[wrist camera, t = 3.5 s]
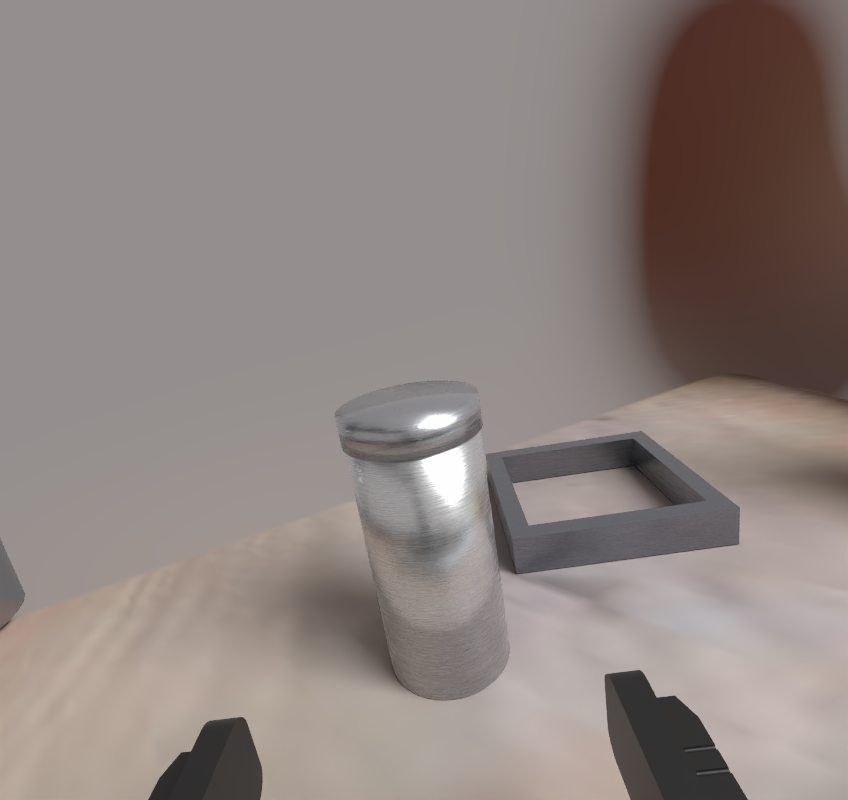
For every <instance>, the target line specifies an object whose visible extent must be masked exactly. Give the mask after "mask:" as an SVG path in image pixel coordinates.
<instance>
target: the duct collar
mask: <svg viewBox="0 0 848 800" xmlns="http://www.w3.org/2000/svg"><path fill="white" fill-rule="evenodd" d="M486 461H487V469H488V476H489V482H490V485H491V488H492V492H493V495H494V499H495V502H496V505H497V509H498V512H499V516H500V519H501V522H502V526H503V529H504V533H505V536H506V539H507V543H508V546H509V550H510V553H511V557H512V560H513V563H514V567H515V570H516V574H520V573H527V572H535V571H542V570H550V569H557V568H564V567H572V566H579V565H586V564H594V563H601V562H609V561H616V560H623V559H631V558H638V557H646V556H653V555H660V554H668V553H675V552H682V551H690V550H697V549H705V548H712V547H719V546H727V545H734V544H739V518H740V508H739V507H738V506H737V505H736V504H734V503H733V502H732V501H730V500H729V499H728V498H727V497H725V496H724V495H723V494H721V493H720V492H719V491H718V490H716V489H715V488H714V487H712V486H711V485H710V484H709V483H707V482H706V481H705V480H704V479H702V478H701V477H700V476H698V475H697V474H696V473H695V472H693V471H692V470H691V469H689V468H688V467H687V466H686V465H684V464H683V463H682V462H680V461H679V460H678V459H677V458H675V457H674V456H673V455H671V454H670V453H669V452H668V451H666V450H665V449H664V448H663V447H661V446H660V445H659V444H657V443H656V442H655V441H654V440H652V439H651V438H650V437H648V436H647V435H646V434H645V433H643V432H642V431H640V432H633V433H626V434H620V435H613V436H606V437H599V438H592V439H586V440H579V441H572V442H565V443H558V444H552V445H545V446H538V447H531V448H524V449H518V450H511V451H504V452H497V453H490V454H486ZM632 465H635V466H636V467H637V468H638V469H639V470H640V471H641V472H642V473H643V474H644V475H645V476H646V477H647V478H648V479H649V480H650V481H651V482H652V483H653V484H654V485H655V486H656V487H657V488H658V489H659V490H660V491H662V492H663V493H664V494H665V495H666V496H667V497H668V498H669V499H670V500H671V501H672V502H673V503H674V504H675V505H674V506H667V507H659V508H652V509H645V510H638V511H631V512H624V513H616V514H609V515H602V516H595V517H588V518H581V519H573V520H566V521H559V522H552V523H545V524H538V525H531V526H528V523H527V521H526V518H525V516H524V513H523V511H522V508H521V506H520V503H519V501H518V498H517V495H516V493H515V490H514V488H513V485H512V483H514V482H521V481H528V480H535V479H542V478H549V477H556V476H563V475H570V474H577V473H584V472H591V471H597V470H604V469H611V468H618V467H625V466H632Z"/></svg>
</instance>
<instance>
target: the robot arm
mask: <svg viewBox="0 0 848 800" xmlns="http://www.w3.org/2000/svg"><path fill="white" fill-rule="evenodd" d="M24 596H25V593H24V591H23V589H22V586H21V584H20V582H19V580H18V577H17V575H16V573H15V570H14V568H13V566H12V564H11V561H10V559H9V557H8V555H7V552H6V550H5V548H4V546H3V544H2V541H1V539H0V628H1V627H2V626H3V625H5V624H6V623H7V622H8V621H9V620H10V619H11V618H12V617H13V615H14V614H15V613H16V612H17V611H18V610H19V608H20V606H21V605H22V603H23V601H24ZM605 692H606V706H607V721H608V731H609V737H610V741H611V745H612V749H613V753H614V756H615V759H616V762H617V765H618V767H619V770H620V773H621V775H622V778H623V781H624V783H625V786H626V788H627V791H628V794H629V796H630V799H631V800H748V799H747V798H746V796H745V794H744V793H743V791H742V789H741V788H740V786H739V784H738V783H737V781H736V779H735V778H734V776H733V774H732V773H730V771H729V769H728V766H727V764H726V762H725V761H724V759H723V757H722V756H721V754H720V752H719V751H718V750H717V749H716V748H715V744H714V742H713V741H712V739H711V737H710V736H709V734H708V732H707V731H706V729H705V727H704V726H703V724H702V722H701V721H700V719H699V717H698V716H697V715H696V714H694V713H693V712H692V711H691V710H690V709H689V708H688V707H687V706H686V705H684V704H683V703H682V702H681V701H680V700H679V699H678V698H677V697H676V696H668V697H660V698H657V697H656V695H655V694H654V692H653V690H652V688H651V686H650V684H649V682H648V680H647V678H646V677H645V675H644V674H643V672H642V671H640V670H636V671H628V672H620V673H612V674H606V675H605ZM261 791H262V767H261V764H260V761H259V758H258V755H257V752H256V749H255V746H254V743H253V739H252V736H251V733H250V730H249V727H248V724H247V722H246V720H245V719H244V718H243V717H238V718H230V719H222V720H213V721H209V722H207V723H206V724H205V725H204V727H203V728H202V730H201V732H200V734H199V736H198V738H197V740H196V742H195V744H194V747H193V749H192V751H191V752H183V753H181V754H180V755H179V756H178V757H177V758H176V759H175V761H174V762H173V763H172V764H171V765H170V766H169V768H168V769H167V770H166V771H165V772H164V773H163V775H162V776H161V777H160V778H159V780H158V782H157V784H156V786H155V788H154V790H153V792H152V794H151V796H150V797H149V799H148V800H260V797H261Z"/></svg>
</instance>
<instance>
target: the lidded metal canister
mask: <svg viewBox="0 0 848 800" xmlns="http://www.w3.org/2000/svg"><path fill="white" fill-rule="evenodd" d="M335 419H336V423H337V428H338V433H339V437H340V442H341V446H342V449H343V451H344V452H345V453H346V456H347V461H348V465H349V469H350V474H351V479H352V483H353V488H354V492H355V497H356V502H357V506H358V511H359V516H360V520H361V525H362V529H363V534H364V538H365V543H366V548H367V552H368V557H369V561H370V566H371V571H372V575H373V580H374V584H375V589H376V593H377V598H378V603H379V607H380V612H381V616H382V621H383V626H384V630H385V635H386V639H387V644H388V648H389V653H390V658H391V662H392V667H393V670H394V673H395V675H396V677H397V678H398V680H399V681H400V682H401V684H402V685H403V686H405V687H406V688H407V689H408V690H410V691H411V692H413V693H415V694H417V695H419V696H422V697H425V698H429V699H435V700H454V699H459V698H464V697H467V696H470V695H473V694H475V693H477V692H479V691H481V690H483V689H484V688H486V687H487V686H489V685H490V684H491V683H493V682H494V681H495V680H496V679H497V678H498V676H499V675H500V674H501V673H502V671H503V670H504V668H505V666H506V664H507V661H508V658H509V653H510V644H509V637H508V630H507V622H506V615H505V607H504V600H503V593H502V585H501V578H500V570H499V563H498V556H497V548H496V541H495V533H494V526H493V519H492V511H491V504H490V496H489V489H488V482H487V474H486V467H485V459H484V453H483V445H482V438H481V428H482V416H481V409H480V401H479V394H478V389H477V388H476V387H475V386H473V385H471V384H468V383H464V382H459V381H426V382H416V383H408V384H403V385H398V386H393V387H388V388H384V389H381V390H377V391H373V392H370V393H367V394H364V395H362V396H359V397H357V398H354V399H352V400H350V401H349V402H347V403H345V404H344V405H342V406H341V407H340V408H338V410H337V411H336V413H335Z"/></svg>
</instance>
